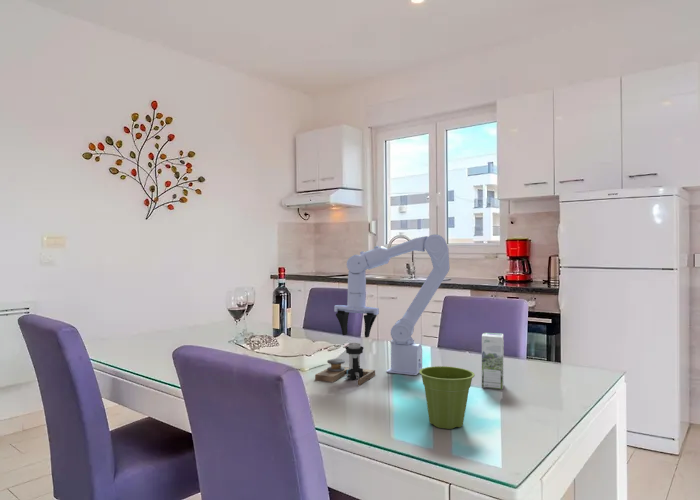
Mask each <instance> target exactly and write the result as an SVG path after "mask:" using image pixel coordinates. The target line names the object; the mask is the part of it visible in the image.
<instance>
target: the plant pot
mask: <svg viewBox="0 0 700 500" xmlns="http://www.w3.org/2000/svg"><path fill="white" fill-rule="evenodd" d="M422 368H423V369H421V370H420V371H419V373H418V374H420V375H421V379H422V384H423V386H424V393H425V400H426V407H427V414H428V421H429V424H430V425H432V426H434V427H436V428H439V429H445V430H452V429H454V428H461V427H462V426H464V421H465V415H466V414H465V413H466V408H467V404H468V403H467V402H468V397H469V392H470V388H471V387H472V381H473V378H474V377H475V376H476V374H475V373H474V372H473V371H471V370H469V369H465V368H463V367H462V368H461V367H456V366H444V365H443V366H441V365H437V366H427V367H422Z"/></svg>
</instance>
